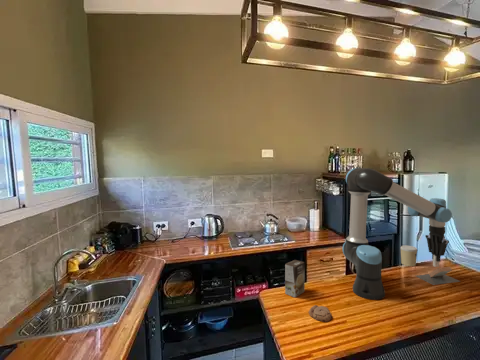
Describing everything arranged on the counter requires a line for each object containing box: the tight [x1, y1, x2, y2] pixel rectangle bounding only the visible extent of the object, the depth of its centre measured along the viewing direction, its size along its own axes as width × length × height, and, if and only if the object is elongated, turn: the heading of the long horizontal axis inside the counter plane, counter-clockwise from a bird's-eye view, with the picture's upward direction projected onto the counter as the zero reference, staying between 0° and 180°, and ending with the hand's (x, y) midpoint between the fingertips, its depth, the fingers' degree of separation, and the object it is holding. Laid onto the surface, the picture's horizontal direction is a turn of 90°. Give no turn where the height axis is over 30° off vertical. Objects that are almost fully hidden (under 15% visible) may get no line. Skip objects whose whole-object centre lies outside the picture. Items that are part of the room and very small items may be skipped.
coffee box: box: [284, 259, 306, 298], centre depth 141 cm, size 9×6×16 cm
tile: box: [428, 266, 453, 277], centre depth 152 cm, size 8×2×8 cm
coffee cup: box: [400, 245, 418, 267], centre depth 173 cm, size 9×9×12 cm
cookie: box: [308, 304, 333, 323], centre depth 120 cm, size 10×11×3 cm
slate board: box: [415, 273, 461, 286], centre depth 152 cm, size 18×12×1 cm, turn 101°
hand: (436, 266), depth 154 cm, fingers closed
